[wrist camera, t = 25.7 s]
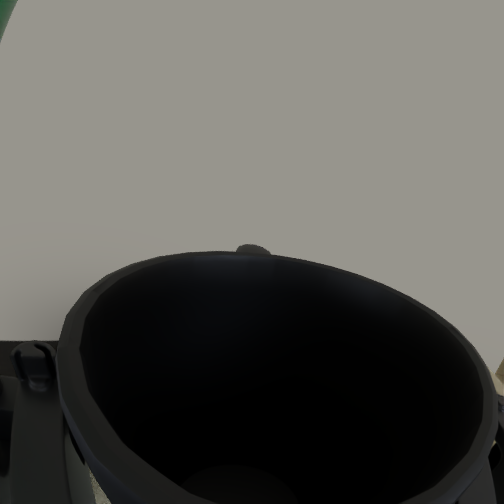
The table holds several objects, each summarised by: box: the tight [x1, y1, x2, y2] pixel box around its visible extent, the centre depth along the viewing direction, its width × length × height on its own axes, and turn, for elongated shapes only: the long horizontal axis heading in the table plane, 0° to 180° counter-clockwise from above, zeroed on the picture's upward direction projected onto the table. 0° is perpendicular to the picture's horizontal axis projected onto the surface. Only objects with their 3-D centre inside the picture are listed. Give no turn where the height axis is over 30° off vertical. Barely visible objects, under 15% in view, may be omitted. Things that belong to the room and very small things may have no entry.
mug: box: [55, 244, 498, 504], centre depth 8 cm, size 8×12×10 cm
